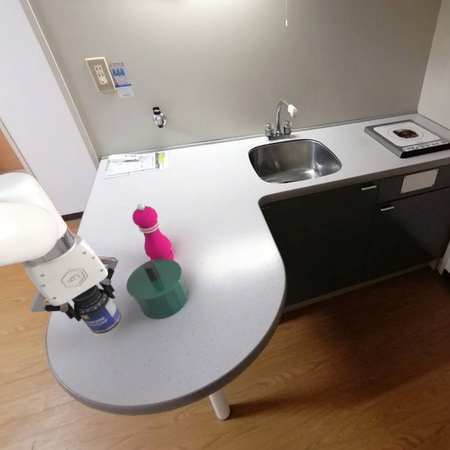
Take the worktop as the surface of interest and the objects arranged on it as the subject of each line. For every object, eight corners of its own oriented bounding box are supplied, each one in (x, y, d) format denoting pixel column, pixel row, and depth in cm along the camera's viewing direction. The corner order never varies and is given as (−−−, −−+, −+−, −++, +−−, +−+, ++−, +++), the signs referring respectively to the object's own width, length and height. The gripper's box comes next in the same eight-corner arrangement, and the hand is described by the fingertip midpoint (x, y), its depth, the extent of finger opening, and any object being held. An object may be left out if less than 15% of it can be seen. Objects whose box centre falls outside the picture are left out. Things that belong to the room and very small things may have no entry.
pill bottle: (88, 337, 65) (60, 307, 57) (95, 313, 69) (71, 282, 62) (119, 331, 66) (96, 300, 58) (124, 307, 70) (103, 276, 63)
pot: (157, 327, 74) (145, 307, 68) (133, 302, 79) (120, 281, 74) (197, 296, 80) (189, 275, 75) (172, 275, 86) (163, 254, 81)
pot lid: (145, 311, 68) (136, 296, 64) (118, 283, 74) (108, 267, 71) (193, 277, 75) (187, 261, 72) (164, 254, 82) (158, 238, 78)
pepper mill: (180, 255, 92) (160, 201, 79) (160, 270, 88) (136, 216, 75) (164, 246, 95) (143, 193, 82) (144, 260, 91) (118, 206, 78)
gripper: (-9, 286, 45) (55, 347, 57) (108, 226, 55) (142, 288, 67) (-22, 262, 49) (41, 324, 60) (90, 210, 59) (125, 272, 70)
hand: (94, 305), depth 63 cm, fingers closed on pill bottle, 6 cm apart
